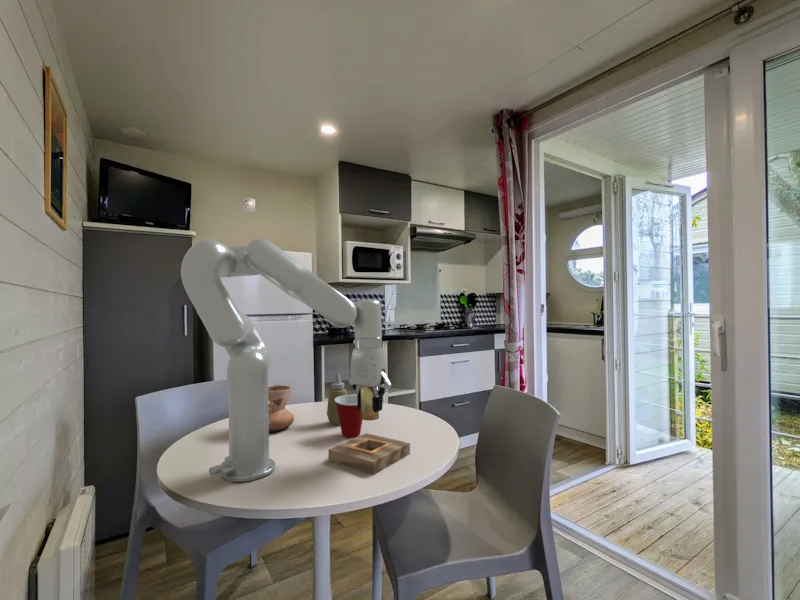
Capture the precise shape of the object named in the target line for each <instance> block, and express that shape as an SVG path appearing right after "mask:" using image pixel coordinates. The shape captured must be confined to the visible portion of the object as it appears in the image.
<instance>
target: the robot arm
mask: <svg viewBox="0 0 800 600" xmlns="http://www.w3.org/2000/svg"><path fill="white" fill-rule="evenodd" d="M258 275H259V276H260V275H261V276H262V277H263V278H264V279H266V280H267V281H269V282H270V283H272V284H273V285H274V286H276V287H277V288H278V289H280V290H281V291H283V292H284V293H285V294H287V295H288V296H290V297H291V298H293V299H294V300H297V301H300V302H301V303H303V304H305V305H306V306H307V307H309V308H311V309H312V310H313V311H315V312H316V313H317V314H319V315H320V316H322V317H323V318H324V319H325V320H327V321H328V323H330V324H331V325H332V326H334V327H337V328H343V329H344V328H348V327H350V326H353V325H354V339H353V341H352V342H353V345H354V346H355V347H354V348H353V349H352V353H351V358H350V370H349V371H350V372H349V373H350V376H349V379H348V383H349V384H350V385H351V387H352V388H353V390H354V392H355V393H354V395H357V402H358V409H361V389H360V386H367V387H373V390H374V395H375V397H373V411H374V412H378V411H379V412H381V411H383V397H384V396H385V393H386V392H388V390H390V388H391V387H392V386H393V385H392V383H391V381H390V379H389V377H388V369H387V361H386V355H385V350H384V348H383V336H382V335H383V333H382V305H381V302H380V301H379V300H377V299H361V300H357V301H351V300H350V299H349V298H347V297H346V296H345V295H343V294H342V293H341V292H340V291H338V290H336V289H335V288H334V287H333V286H331V285H330V284H328V283H327V282H326V281H324V280H323V279H321V278H320V277H319V276H317V275H316V274H315V273H313V272H312V271H311V270H309V269H308V268H307V267H305V266H304V265H303V264H301V263H300V262H298V261H297V260H296V259H294V258H293V257H291V255H289V254H288V253H286V252H285V251H284V250H282V249H281V248H280V247H278V246H277V245H276V244H274V243H273V242H272V241H270V240H268V239H265V238H261V237H259V238H258V237H257V238H254V239H251V240H249V242H248V243H247V244H246V245H244V246H243V245H242V246H241V245H240V246H226V245H225V244H224V243H222V242H221V241H218V240H215V239H209V238H207V239H202V240H199V241H197V242H195V243H194V244H193V245H192V246H191V247H190V248H189V249H188V250H187V251H186V253H185V254H184V256H183V259H182V262H181V267H180V278H181V281H182V285H183V287H184V290H185V292H186V295H187V296H188V298H189V300H190V302H191V303H192V305H193V307H194V308H195V310H196V312H197V313H196V314H197V315H198V316H199V318H200V320H201V322H202V324H203V325H204V327H205V329H206V331H207V333H208V335H209V337H210V338H211V341H213V343H215V345H217V346H219V347H222V348H224V349H225V351H226V353H227V354H228V356H229V360H228V363H227V366H226V380H227V394H228V456H225V457H224V461H222V462H221V464H219V465H214V466H211V467H209V468H208V473H209V476H210V477H213V476H216V475H220V476H221V477H222V479H224V480H226V481H228V482H233V483H241V482H242V483H243V482H249V481H250V482H251V481H255V480H258V479H261V478H264V477H266V476H268V475H270V474H271V473H273V472H274V471H275V469H276V461H275V460H274V459H272V458H270V432H269V398H268V386H269V369H270V367H271V362H272V358H271V355H270V352H269V351H268V348H267V347H266V344H265V343H264V341H263V339H262V337H261V336H260V334H259V332H258V330H257V328H256V326H255V325H254V324H253V322H252V320H251V319H250V317H249V316H248V315H246V314H245V313H244V312H242V311H239V309H238V308H237V306H236V304H235V303H234V301H233V299H232V297H231V295H230V293H229V292H228V290H227V288H226V286H225V285H224V283H223V281H222V278H233V277H234V278H236V277H249V276H258ZM378 390H379V391H378Z"/></svg>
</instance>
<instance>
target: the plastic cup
mask: <svg viewBox="0 0 800 600" xmlns="http://www.w3.org/2000/svg"><path fill="white" fill-rule="evenodd" d="M334 400H335V402H336V406H337V409H338V415H339V421H340V425H339V426H340V429H341V430H340V431H341V435H342V437H343V438H347V439H351V438H352V439H354V438H356V437H359V436H361V435H360V434H361V432H362V425H363V420H362V419H361V409H358V402H357V395H356V394H347V395H344V396H339V397H337V398H335V399H334Z"/></svg>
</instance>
